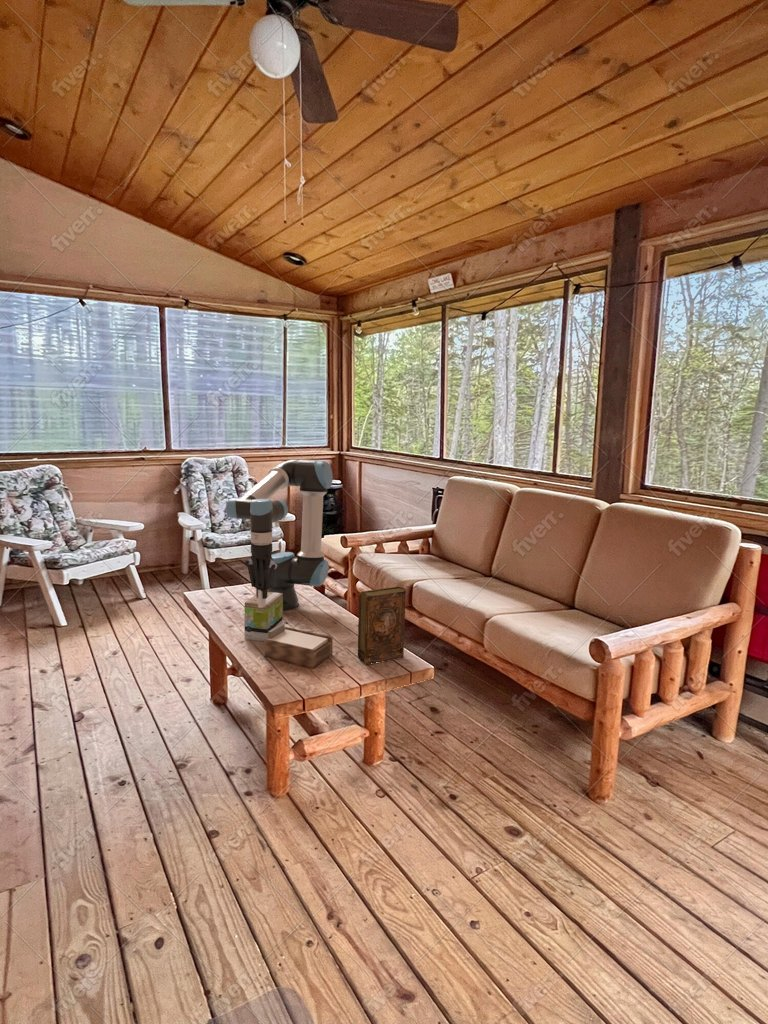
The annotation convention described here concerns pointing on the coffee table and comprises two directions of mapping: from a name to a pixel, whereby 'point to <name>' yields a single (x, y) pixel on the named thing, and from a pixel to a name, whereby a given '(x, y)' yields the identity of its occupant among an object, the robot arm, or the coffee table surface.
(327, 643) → the walnut box
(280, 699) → the coffee table surface
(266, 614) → the tea box
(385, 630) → the book
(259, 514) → the robot arm
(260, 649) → the coffee table surface
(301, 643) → the cover plate
